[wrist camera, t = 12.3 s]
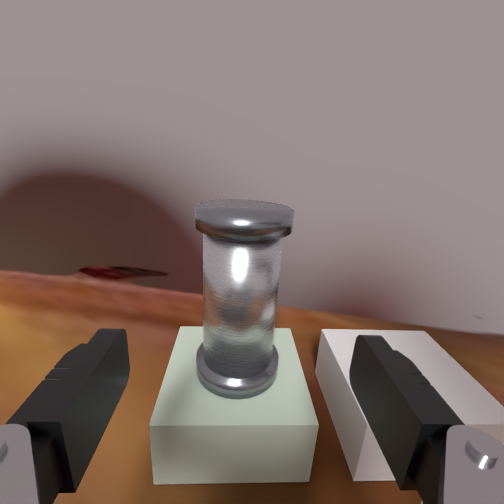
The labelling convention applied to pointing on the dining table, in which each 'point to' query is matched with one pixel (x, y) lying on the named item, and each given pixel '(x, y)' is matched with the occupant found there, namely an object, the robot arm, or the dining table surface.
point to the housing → (240, 294)
